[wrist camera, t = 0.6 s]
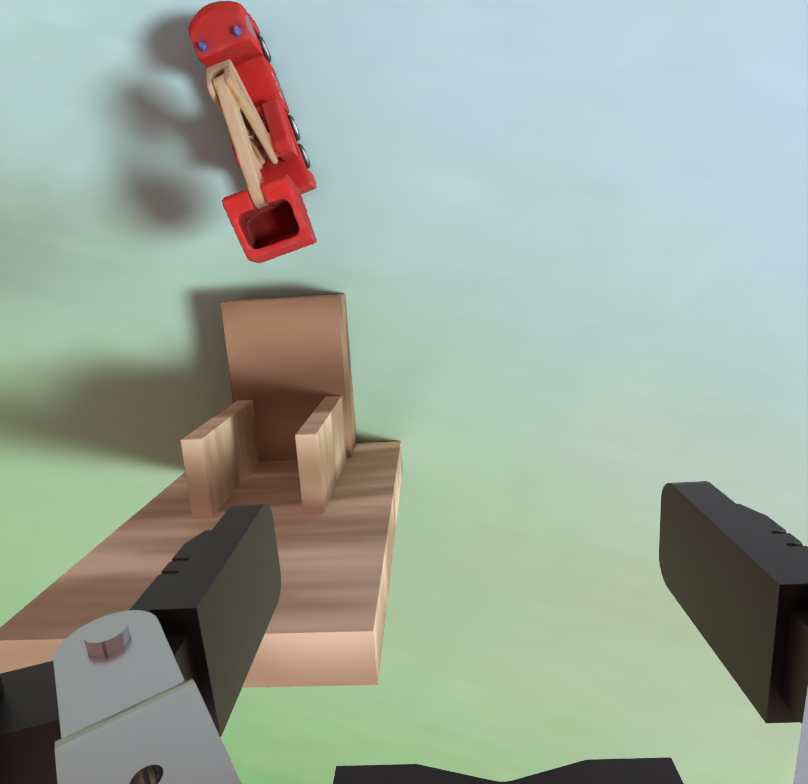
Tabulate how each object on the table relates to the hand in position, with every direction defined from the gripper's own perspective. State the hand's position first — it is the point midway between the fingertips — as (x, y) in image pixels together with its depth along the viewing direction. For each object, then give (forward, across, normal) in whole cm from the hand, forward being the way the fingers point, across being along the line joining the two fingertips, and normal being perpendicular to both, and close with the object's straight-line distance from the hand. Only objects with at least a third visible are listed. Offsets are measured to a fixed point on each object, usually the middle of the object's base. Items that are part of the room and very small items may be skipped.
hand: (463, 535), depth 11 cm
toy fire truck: (+26, +9, -13) cm, 30 cm away
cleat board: (+25, +9, +2) cm, 27 cm away
